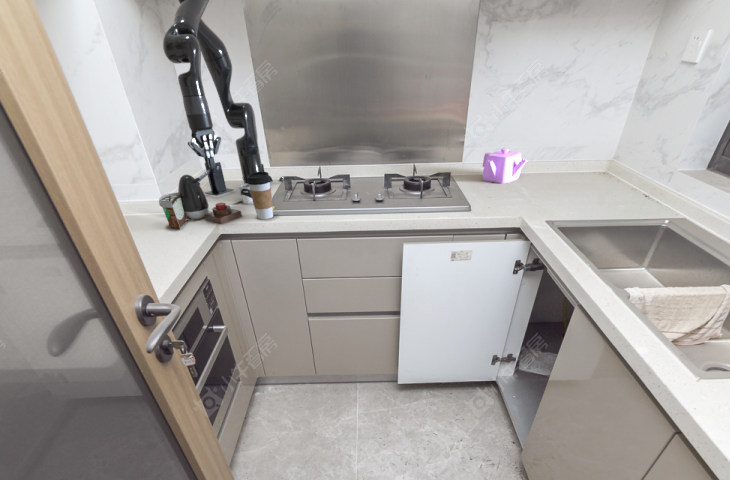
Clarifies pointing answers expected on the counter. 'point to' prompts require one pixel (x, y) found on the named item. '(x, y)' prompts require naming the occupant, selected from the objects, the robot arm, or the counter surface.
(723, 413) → the counter surface
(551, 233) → the counter surface
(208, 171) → the tap lever
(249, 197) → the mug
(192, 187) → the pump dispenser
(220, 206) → the button
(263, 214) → the coffee cup
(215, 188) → the tap bracket
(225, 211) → the button block
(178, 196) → the food container
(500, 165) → the teakettle
